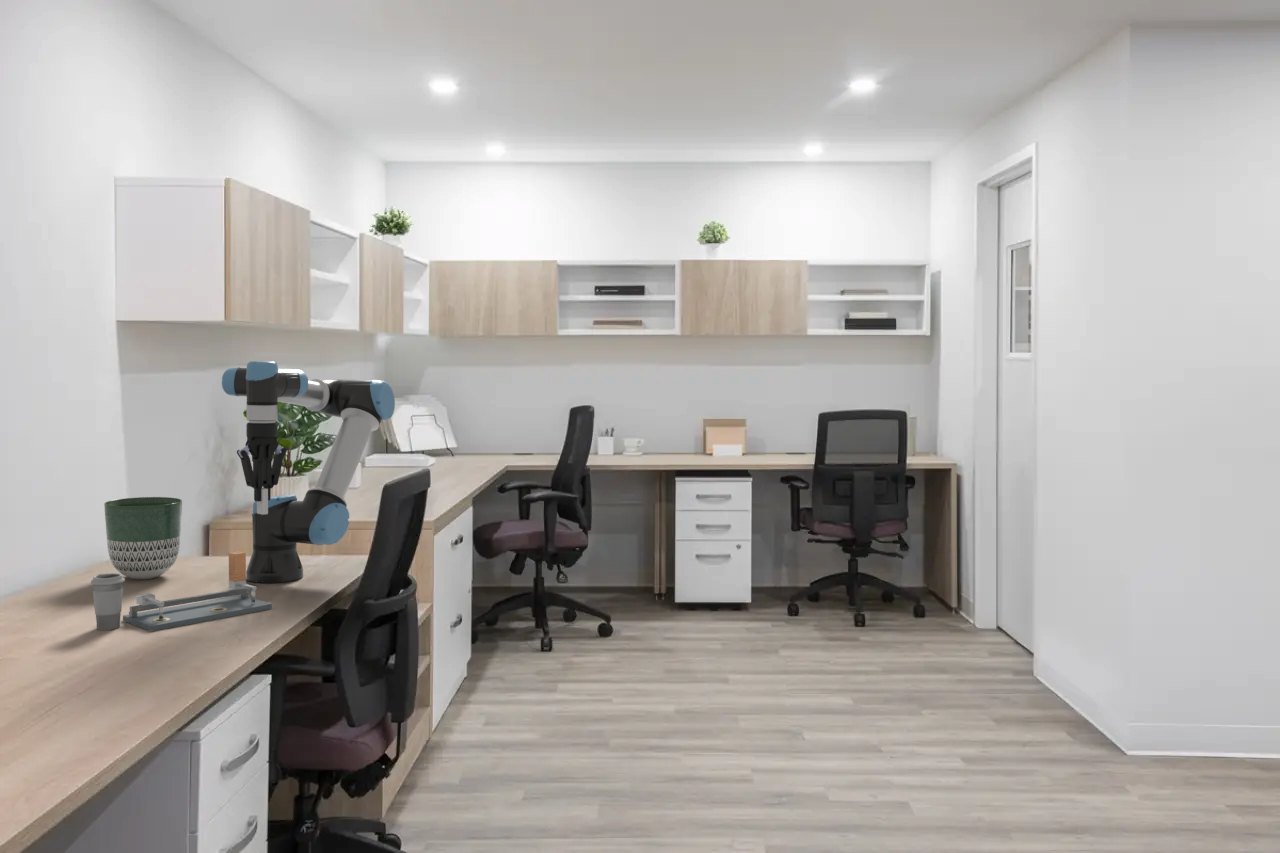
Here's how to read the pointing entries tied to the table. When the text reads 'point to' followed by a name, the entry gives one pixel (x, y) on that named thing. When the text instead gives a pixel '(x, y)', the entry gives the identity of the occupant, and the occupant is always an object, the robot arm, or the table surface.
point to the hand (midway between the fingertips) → (262, 513)
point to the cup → (108, 600)
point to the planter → (143, 535)
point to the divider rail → (177, 601)
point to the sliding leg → (239, 573)
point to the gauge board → (196, 612)
